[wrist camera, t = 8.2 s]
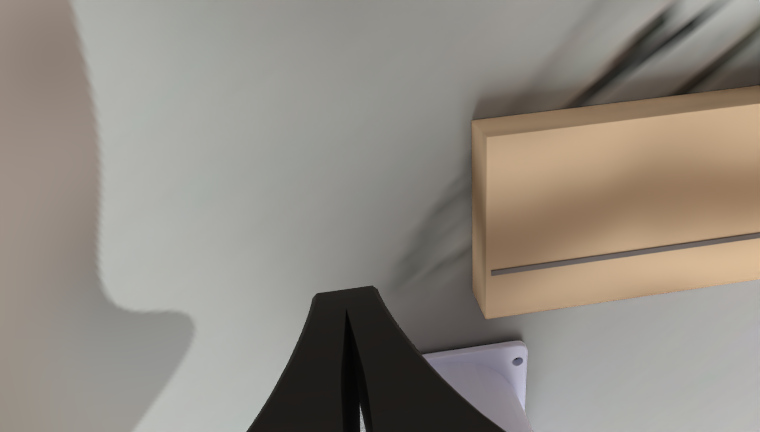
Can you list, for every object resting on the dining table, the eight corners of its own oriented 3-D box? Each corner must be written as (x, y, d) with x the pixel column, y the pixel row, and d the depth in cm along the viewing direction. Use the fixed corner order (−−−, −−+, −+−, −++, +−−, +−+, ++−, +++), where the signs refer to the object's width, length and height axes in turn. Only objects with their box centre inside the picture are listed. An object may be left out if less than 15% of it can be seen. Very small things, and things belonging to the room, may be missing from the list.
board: (904, 229, 26) (949, 252, 24) (472, 291, 24) (486, 320, 23) (975, 59, 22) (1036, 69, 20) (471, 120, 21) (487, 138, 19)
